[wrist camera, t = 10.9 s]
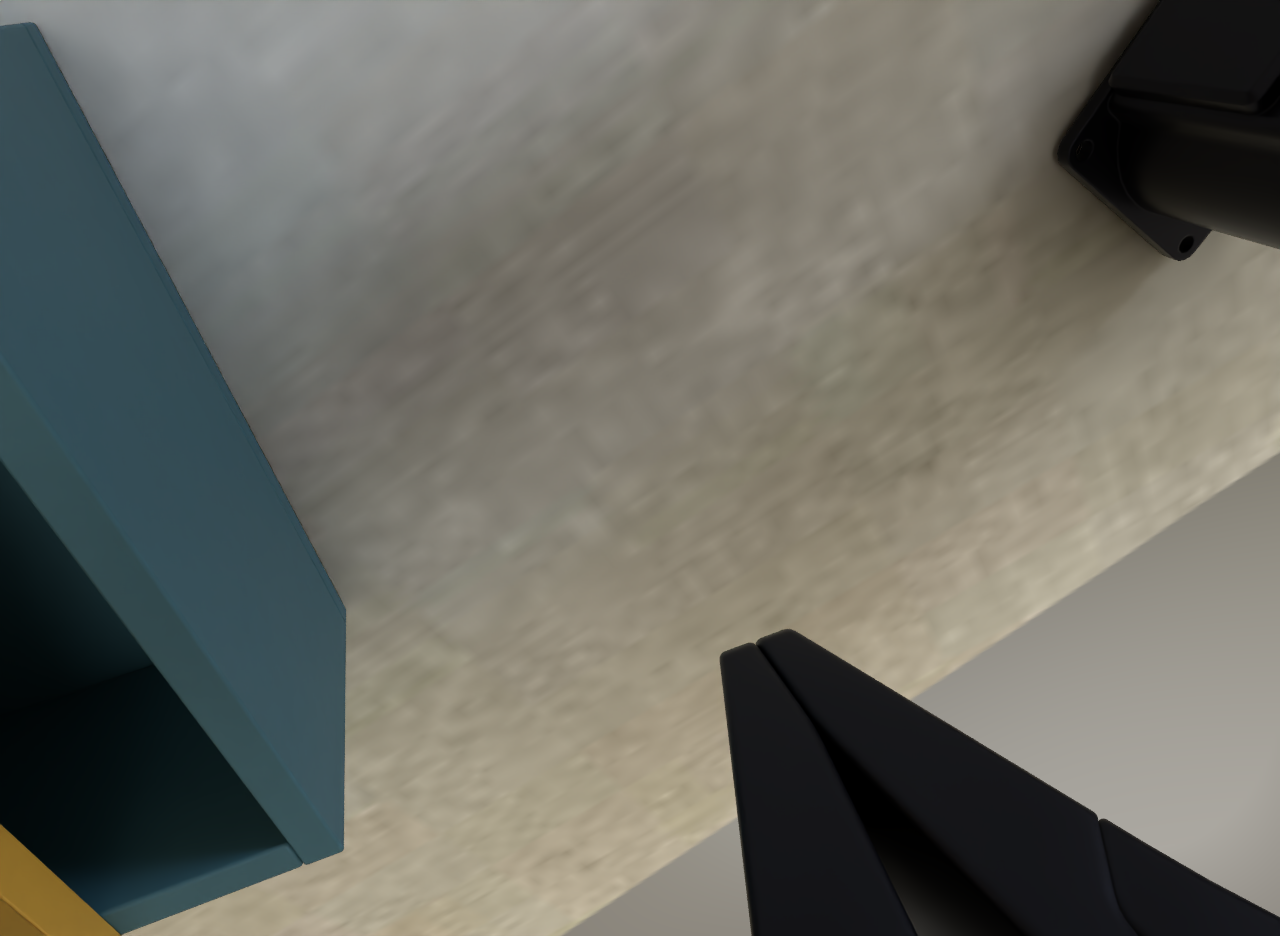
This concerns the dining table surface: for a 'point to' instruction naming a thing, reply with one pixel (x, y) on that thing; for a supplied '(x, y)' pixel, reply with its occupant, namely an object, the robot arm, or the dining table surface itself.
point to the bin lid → (40, 898)
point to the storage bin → (142, 559)
